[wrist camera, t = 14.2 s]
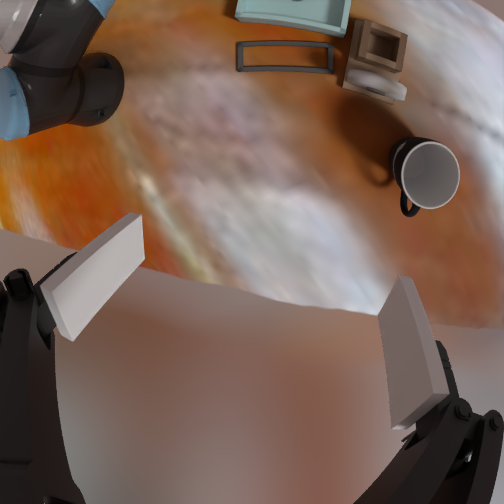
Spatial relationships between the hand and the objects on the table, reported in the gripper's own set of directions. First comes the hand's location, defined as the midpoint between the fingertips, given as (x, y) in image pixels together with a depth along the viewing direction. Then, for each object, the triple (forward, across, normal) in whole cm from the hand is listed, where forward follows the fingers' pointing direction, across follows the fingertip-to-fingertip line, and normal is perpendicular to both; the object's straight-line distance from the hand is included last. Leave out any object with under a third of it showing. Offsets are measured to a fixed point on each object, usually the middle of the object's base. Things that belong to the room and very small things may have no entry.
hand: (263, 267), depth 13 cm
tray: (+31, -4, +26) cm, 41 cm away
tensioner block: (+32, +8, +18) cm, 37 cm away
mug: (+32, +17, +2) cm, 36 cm away
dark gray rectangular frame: (+32, -4, +15) cm, 35 cm away
